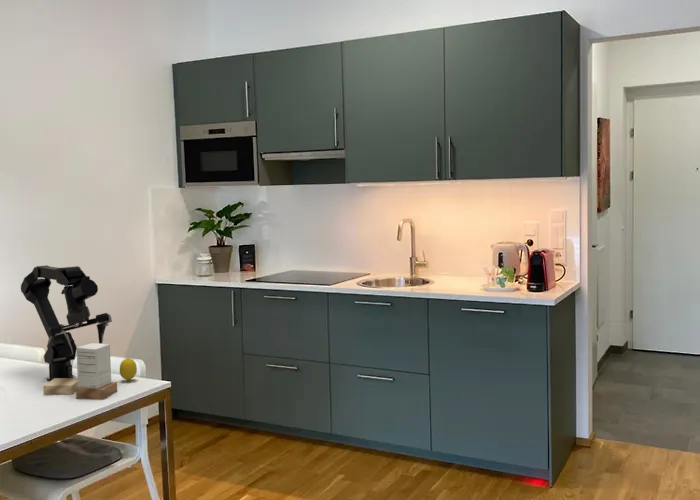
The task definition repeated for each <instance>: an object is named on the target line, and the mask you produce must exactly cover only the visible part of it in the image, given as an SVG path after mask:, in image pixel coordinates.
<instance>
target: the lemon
mask: <svg viewBox="0 0 700 500" xmlns="http://www.w3.org/2000/svg"><path fill="white" fill-rule="evenodd" d="M137 371H138V368H137V364H136V362H135V360H134V359H132V358H130V357H126V358H125V359H123V360H122V361H121V362H120V365H119V374H120V376H121V378H122V379H124V380H126V381H127V382H130V381H131V380H132V379H133V378H135V376H136V375H137Z"/></svg>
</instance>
